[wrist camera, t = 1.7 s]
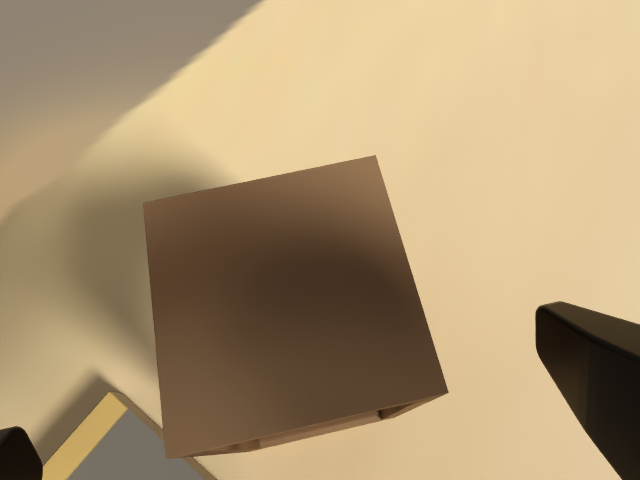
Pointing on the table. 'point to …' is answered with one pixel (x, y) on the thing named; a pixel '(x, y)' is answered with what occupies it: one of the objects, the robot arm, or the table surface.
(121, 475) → the dock
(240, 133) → the table surface
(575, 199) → the table surface
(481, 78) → the table surface
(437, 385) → the open wooden box
